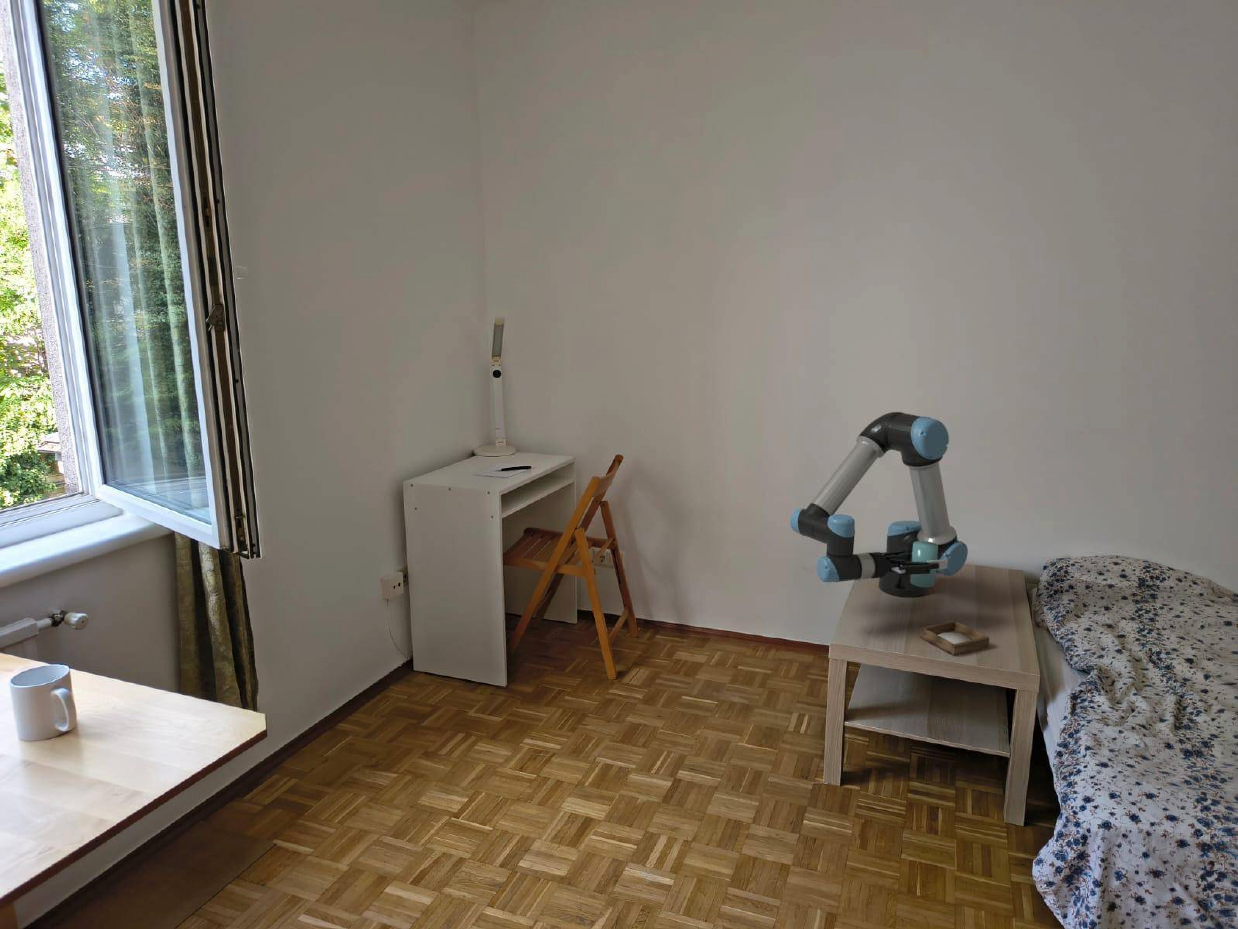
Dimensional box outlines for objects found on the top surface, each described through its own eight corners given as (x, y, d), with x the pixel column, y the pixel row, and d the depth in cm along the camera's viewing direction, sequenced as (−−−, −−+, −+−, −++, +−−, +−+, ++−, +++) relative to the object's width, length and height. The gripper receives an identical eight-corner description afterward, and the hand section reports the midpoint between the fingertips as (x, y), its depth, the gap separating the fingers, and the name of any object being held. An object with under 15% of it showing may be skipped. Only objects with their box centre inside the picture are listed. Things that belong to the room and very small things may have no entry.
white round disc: (930, 637, 246) (930, 636, 246) (953, 631, 250) (954, 630, 250) (953, 650, 238) (953, 648, 238) (977, 644, 242) (977, 642, 242)
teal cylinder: (904, 580, 256) (908, 542, 253) (922, 577, 258) (926, 539, 256) (921, 588, 249) (925, 550, 247) (939, 585, 252) (943, 546, 249)
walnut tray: (919, 637, 247) (920, 628, 247) (953, 629, 252) (954, 620, 252) (953, 656, 236) (954, 646, 235) (988, 647, 241) (989, 637, 240)
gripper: (852, 566, 259) (919, 560, 264) (886, 590, 240) (958, 583, 245) (853, 542, 257) (921, 537, 262) (888, 565, 238) (960, 558, 243)
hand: (939, 559), depth 253 cm, fingers closed on teal cylinder, 7 cm apart
